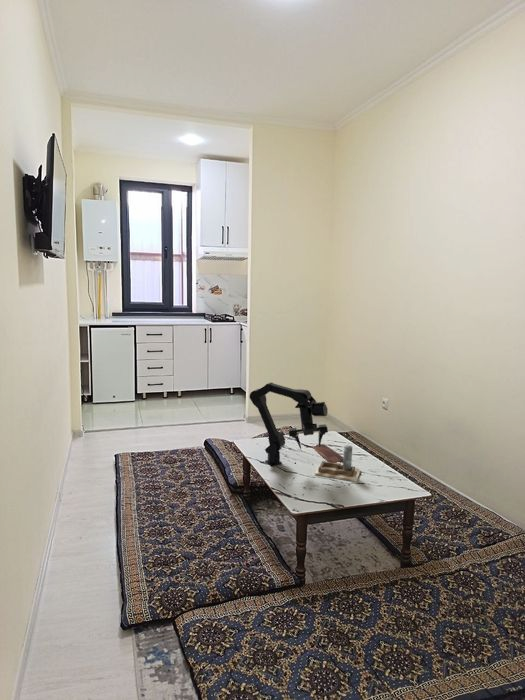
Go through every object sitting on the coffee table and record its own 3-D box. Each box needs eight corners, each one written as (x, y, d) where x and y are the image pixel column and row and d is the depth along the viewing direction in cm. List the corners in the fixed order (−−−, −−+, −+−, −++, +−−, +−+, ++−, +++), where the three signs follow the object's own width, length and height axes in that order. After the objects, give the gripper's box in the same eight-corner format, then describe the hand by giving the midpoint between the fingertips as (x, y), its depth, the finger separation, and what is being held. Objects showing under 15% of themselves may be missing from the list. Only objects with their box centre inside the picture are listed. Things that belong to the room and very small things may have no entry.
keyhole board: (314, 474, 228) (315, 468, 227) (320, 464, 240) (320, 459, 239) (356, 481, 221) (357, 475, 221) (360, 471, 233) (360, 465, 233)
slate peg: (341, 472, 228) (342, 446, 226) (344, 470, 232) (346, 444, 230) (348, 474, 226) (350, 448, 224) (352, 472, 230) (353, 446, 227)
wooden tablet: (309, 443, 266) (325, 440, 269) (309, 447, 267) (326, 444, 270) (330, 462, 241) (347, 458, 244) (330, 466, 242) (347, 462, 245)
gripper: (287, 422, 222) (291, 454, 224) (327, 418, 221) (330, 450, 223) (287, 417, 233) (290, 447, 235) (324, 412, 232) (328, 443, 234)
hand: (310, 447), depth 231 cm, fingers open, 9 cm apart
